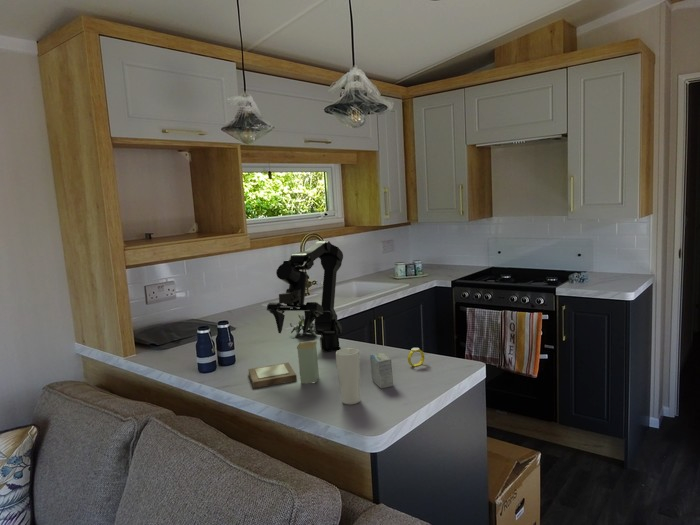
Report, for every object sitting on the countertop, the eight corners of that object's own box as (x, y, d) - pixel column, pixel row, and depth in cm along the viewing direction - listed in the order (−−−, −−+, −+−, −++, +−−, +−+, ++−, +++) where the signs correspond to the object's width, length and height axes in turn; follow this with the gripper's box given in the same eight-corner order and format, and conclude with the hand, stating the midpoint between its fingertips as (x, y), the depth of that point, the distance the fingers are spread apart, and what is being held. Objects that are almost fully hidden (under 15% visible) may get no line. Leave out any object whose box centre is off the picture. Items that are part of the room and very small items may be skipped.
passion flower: (314, 347, 227) (320, 328, 220) (289, 347, 224) (295, 327, 217) (311, 328, 236) (317, 309, 228) (287, 327, 232) (292, 308, 225)
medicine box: (393, 386, 162) (392, 359, 161) (380, 389, 161) (378, 361, 159) (384, 378, 169) (383, 352, 168) (371, 380, 168) (369, 354, 167)
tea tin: (303, 377, 176) (300, 341, 174) (319, 377, 175) (316, 341, 173) (300, 383, 170) (296, 346, 169) (316, 383, 170) (313, 346, 168)
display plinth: (288, 367, 187) (288, 361, 186) (296, 380, 173) (296, 373, 173) (249, 374, 183) (248, 368, 183) (253, 388, 170) (253, 381, 169)
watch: (412, 369, 176) (409, 352, 175) (407, 367, 179) (405, 350, 178) (426, 364, 179) (424, 347, 178) (421, 362, 182) (419, 345, 181)
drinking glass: (336, 405, 151) (331, 354, 149) (344, 396, 157) (340, 347, 155) (358, 407, 148) (354, 355, 146) (366, 397, 155) (362, 348, 153)
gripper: (261, 282, 178) (255, 327, 173) (312, 280, 171) (306, 328, 166) (277, 291, 188) (271, 334, 183) (325, 290, 181) (321, 335, 176)
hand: (291, 333), depth 177 cm, fingers open, 9 cm apart
